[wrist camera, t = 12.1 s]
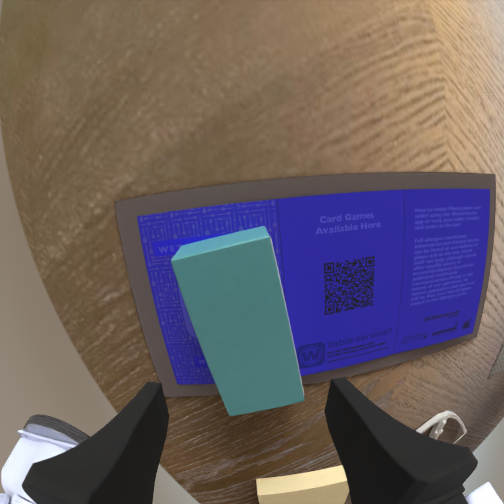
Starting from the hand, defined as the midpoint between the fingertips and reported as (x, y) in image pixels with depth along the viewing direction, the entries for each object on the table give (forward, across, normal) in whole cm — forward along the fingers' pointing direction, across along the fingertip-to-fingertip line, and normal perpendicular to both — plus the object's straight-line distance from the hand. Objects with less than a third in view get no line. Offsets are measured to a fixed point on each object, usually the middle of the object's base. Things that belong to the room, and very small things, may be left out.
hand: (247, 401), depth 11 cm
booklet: (+8, -7, -2) cm, 11 cm away
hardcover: (+8, -7, +26) cm, 28 cm away
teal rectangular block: (+8, 0, 0) cm, 8 cm away
